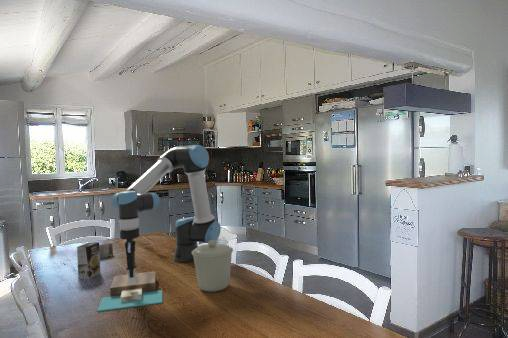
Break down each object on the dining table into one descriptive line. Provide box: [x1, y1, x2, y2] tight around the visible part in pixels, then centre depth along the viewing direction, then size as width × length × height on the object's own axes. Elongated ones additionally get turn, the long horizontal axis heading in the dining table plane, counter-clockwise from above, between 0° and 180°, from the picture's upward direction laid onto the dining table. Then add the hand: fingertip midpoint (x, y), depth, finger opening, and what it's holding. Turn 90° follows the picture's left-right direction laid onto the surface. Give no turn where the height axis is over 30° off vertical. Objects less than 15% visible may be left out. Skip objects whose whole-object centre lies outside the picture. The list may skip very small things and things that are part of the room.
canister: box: [192, 240, 234, 293], centre depth 154 cm, size 18×18×21 cm
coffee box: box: [76, 241, 101, 280], centre depth 176 cm, size 9×6×16 cm
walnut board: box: [109, 271, 157, 297], centre depth 158 cm, size 18×16×4 cm
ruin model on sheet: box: [99, 242, 114, 259], centre depth 210 cm, size 11×3×10 cm, turn 131°
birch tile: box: [121, 288, 142, 302], centre depth 146 cm, size 8×8×2 cm
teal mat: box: [96, 289, 163, 313], centre depth 143 cm, size 24×13×1 cm, turn 105°
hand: (132, 284), depth 148 cm, fingers closed
